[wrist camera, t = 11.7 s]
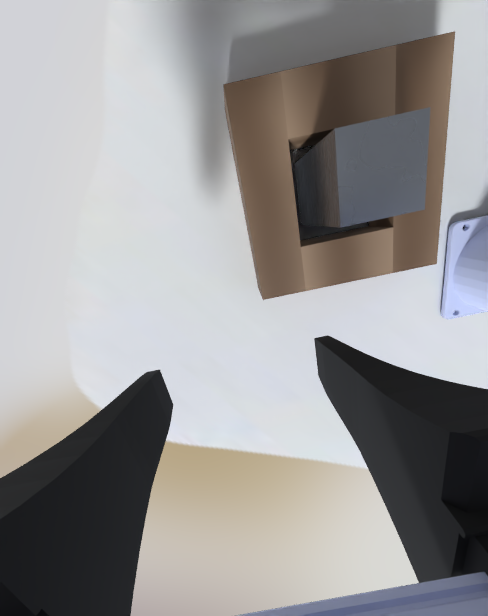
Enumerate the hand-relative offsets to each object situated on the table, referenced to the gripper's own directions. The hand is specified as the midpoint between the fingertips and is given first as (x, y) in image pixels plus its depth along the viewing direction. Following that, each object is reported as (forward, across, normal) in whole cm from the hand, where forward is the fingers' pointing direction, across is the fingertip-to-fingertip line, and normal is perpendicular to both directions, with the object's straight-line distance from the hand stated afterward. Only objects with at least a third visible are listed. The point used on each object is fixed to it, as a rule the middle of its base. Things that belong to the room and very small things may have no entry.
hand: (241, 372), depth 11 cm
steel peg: (+9, -8, -7) cm, 14 cm away
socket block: (+9, -8, -7) cm, 14 cm away
